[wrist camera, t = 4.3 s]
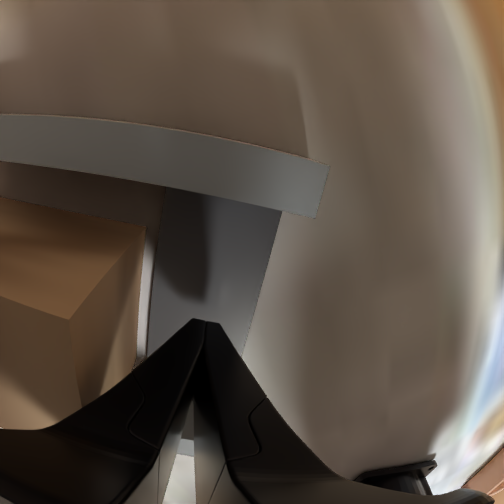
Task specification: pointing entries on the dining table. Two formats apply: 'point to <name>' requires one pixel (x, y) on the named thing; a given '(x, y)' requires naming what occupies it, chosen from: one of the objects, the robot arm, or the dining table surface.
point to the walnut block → (64, 310)
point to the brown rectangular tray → (489, 476)
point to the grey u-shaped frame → (185, 210)
